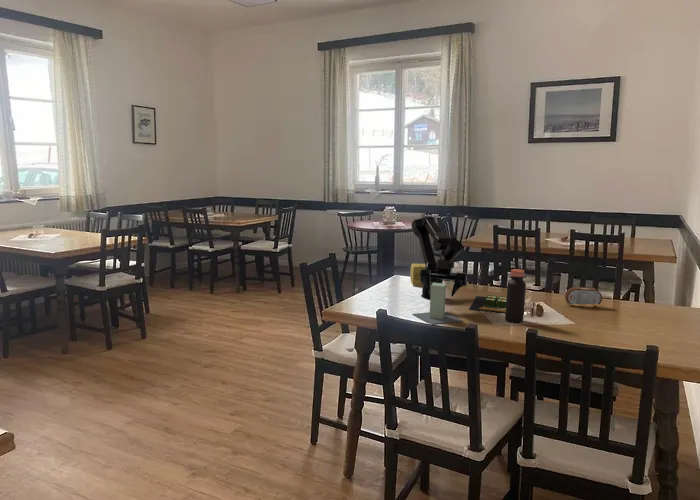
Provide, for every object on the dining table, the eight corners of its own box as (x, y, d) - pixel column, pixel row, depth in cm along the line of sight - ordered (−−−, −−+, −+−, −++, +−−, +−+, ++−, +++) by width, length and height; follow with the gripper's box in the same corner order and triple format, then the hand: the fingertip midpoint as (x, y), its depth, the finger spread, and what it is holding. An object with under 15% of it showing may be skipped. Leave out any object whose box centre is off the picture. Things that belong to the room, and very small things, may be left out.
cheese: (433, 287, 263) (434, 267, 261) (411, 286, 263) (412, 266, 261) (430, 282, 273) (431, 263, 271) (409, 281, 273) (410, 262, 271)
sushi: (468, 311, 222) (469, 302, 222) (476, 297, 246) (477, 289, 245) (531, 318, 214) (532, 309, 213) (533, 304, 237) (534, 295, 236)
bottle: (524, 323, 204) (528, 272, 201) (505, 322, 205) (509, 271, 202) (522, 319, 210) (525, 269, 207) (504, 317, 212) (507, 268, 209)
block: (431, 314, 212) (433, 282, 210) (444, 316, 210) (446, 283, 208) (429, 317, 207) (431, 285, 205) (442, 319, 206) (444, 286, 204)
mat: (442, 311, 218) (442, 310, 218) (462, 321, 205) (462, 320, 205) (412, 314, 212) (412, 313, 212) (431, 324, 200) (431, 323, 200)
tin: (599, 306, 233) (601, 287, 232) (602, 308, 230) (603, 289, 229) (563, 304, 234) (565, 286, 233) (565, 306, 231) (567, 287, 230)
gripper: (421, 250, 219) (415, 281, 211) (468, 253, 214) (463, 286, 205) (424, 265, 228) (418, 296, 219) (468, 269, 222) (464, 301, 214)
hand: (440, 294), depth 214 cm, fingers open, 9 cm apart
